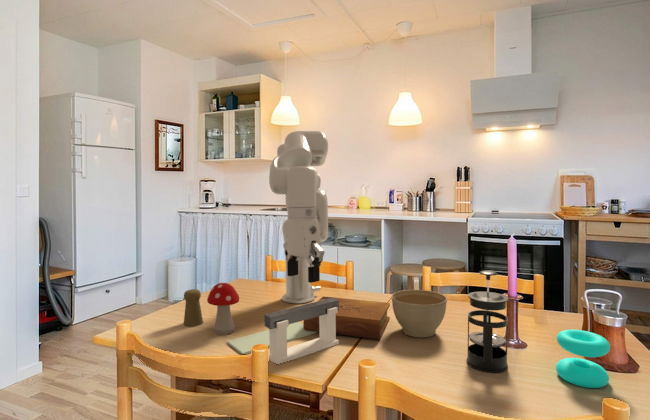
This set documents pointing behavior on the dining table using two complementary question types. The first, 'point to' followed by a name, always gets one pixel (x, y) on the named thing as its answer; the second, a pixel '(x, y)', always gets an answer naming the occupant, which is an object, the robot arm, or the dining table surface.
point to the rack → (327, 339)
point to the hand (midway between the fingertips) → (303, 278)
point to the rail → (300, 312)
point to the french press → (487, 331)
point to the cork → (192, 308)
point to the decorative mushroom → (223, 306)
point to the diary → (356, 318)
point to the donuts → (582, 369)
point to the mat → (267, 338)
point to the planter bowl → (419, 311)
